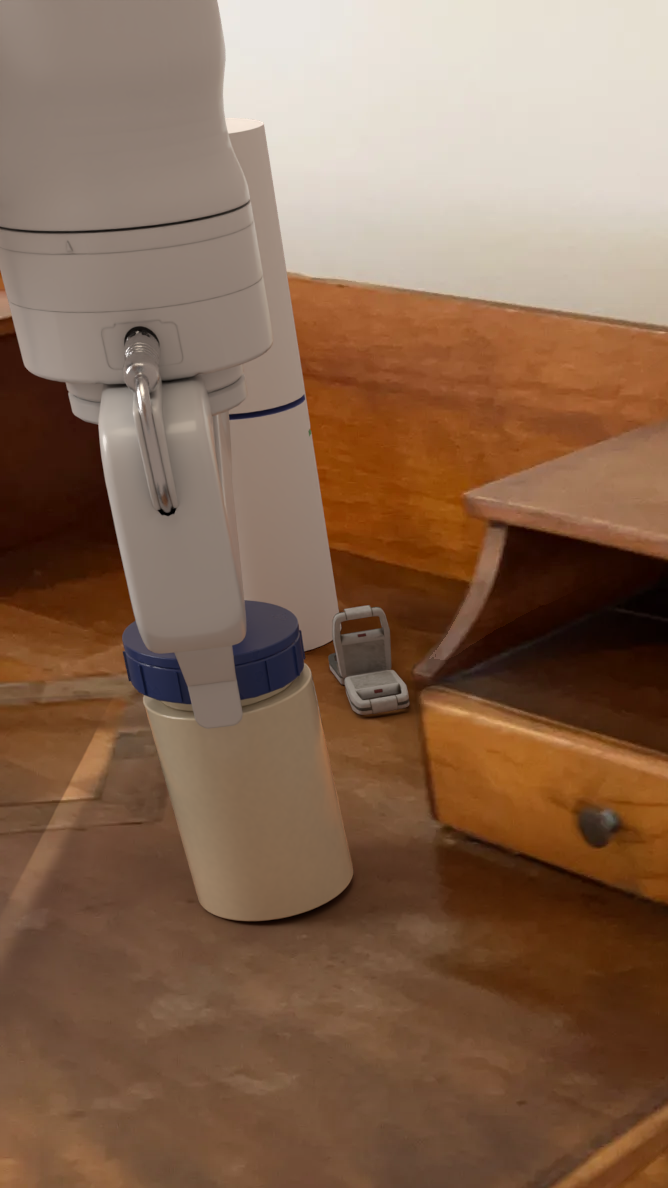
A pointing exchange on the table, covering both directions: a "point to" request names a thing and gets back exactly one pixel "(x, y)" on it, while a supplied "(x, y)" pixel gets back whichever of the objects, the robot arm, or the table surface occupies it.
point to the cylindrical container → (277, 437)
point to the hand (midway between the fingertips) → (218, 680)
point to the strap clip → (367, 664)
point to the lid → (258, 659)
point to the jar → (256, 804)
